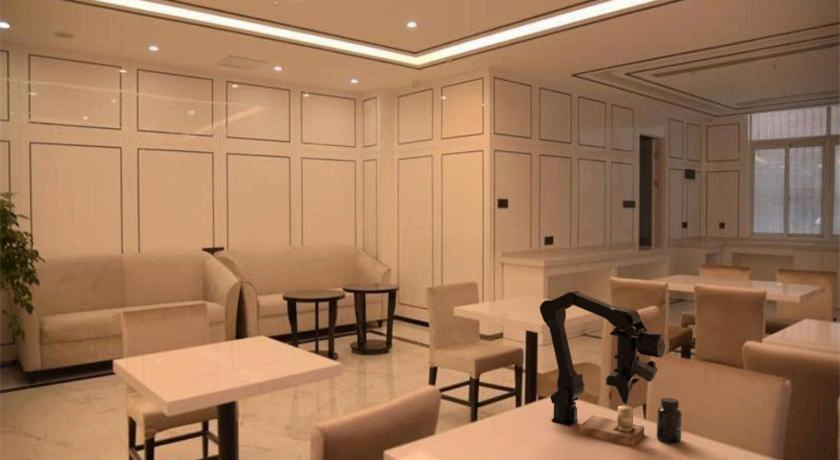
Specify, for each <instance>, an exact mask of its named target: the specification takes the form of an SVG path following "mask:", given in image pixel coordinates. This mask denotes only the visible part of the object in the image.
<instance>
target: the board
mask: <svg viewBox="0 0 840 460" xmlns="http://www.w3.org/2000/svg"><path fill="white" fill-rule="evenodd" d="M579 434H580V435H584V436H588V437H593V438H597V439H601V440H605V441H609V442H613V443H618V444H622V445H626V446H629V447H635V445H636V444H637V443H638V442H639V441H640V440H641V439H642V438H643V437H644V435H645V426H643V425H639V424H634V423H633V426H632V431H631V434H627V433H623V432H619V425H618V420H616V419H611V418H607V417H602V416H597V415H591V416H590V417H588V419H586V420H585V421H584V422H583V423H581V424H580V425H579Z"/></svg>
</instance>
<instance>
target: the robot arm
mask: <svg viewBox="0 0 840 460" xmlns="http://www.w3.org/2000/svg"><path fill="white" fill-rule="evenodd" d="M572 306H574V307H577V308H580V309H583V310H585V311H587V312H590V313H591V314H594V315H596V316H599V317H601V318H604V320H605V319H606V320H607V321H608V323H610V325H612V326H614V329H613V330H612V331H611V332H609V335H610V336H615V337H616V353H615V354H614V356H613V357H614V360H616V361H615V362H616V365H615V368H613V372H612V373H610V374H609V375H608V376H607V377H606V380H605V385H606V386H610V387H615V388H616V389H617V392H618V394H619V396H620V398H621V400H622V401H621V402H622V403H623V404H628V403H629V400H630V397H631V393H632V391H633V390H632V389H633V387H634V385H636V384H637V383H638V382H639V381H640V379H639V378H635V376H636V375H637V376H639V377H640V378H642V379H644V381H646V382H652V381H653V380H654V379H655V377H656V374H657V373H658V368H657V365H656V361H653V360H652V359H651V360H650V361H648V362H646V361H642V360H640V359H641V358H640V355H643V356H648V357H653V358H659V359H660V358H662V357H663V356H664V354H665V350H666V344H665V340H664V338H663V333H661V332H660V333H659V332H655V333H654V332H649V330H648V329H647V327H646V325H644V323H643V321H642V319H641V316H640V313H639V311H637V310H636V309H634V308H629V307H624V306H616V305H611V304H609V303H607V302H604V301H602V300H599V299H596V298H593V297H591V296H589V295H586V294H583V293H581V292H580V291H578V290H571V291H567V292H566V293H565V294H563V295H561V296H558V297H556V298H552V299H546V300H544V301H543V302H541V304H540V305H539V313H540V315H541V317H542V320H543V322H544V323H545V324H546V326H547V328H548V330H549V333H550V337H551V342H552V346H553V351H554V356H555V360H556V365H557V368H558V376H557V380H556V384H557V385H556V387H557V388H556V389H557V391H555V392H553V393H552V395H550V397H549V398H550V401H551V403H552V404H553V417H552V418H551V421H552V422H554V423H559V424H563V425H567V426H571V425H573V424H574V423H575V422H577V421H578V407H576V406H577V403H576V401H578V400H579V397H581V396H582V395H583V393H584V387H586V385H585V383H584V380H583V378H584V377H583V374H582V373H577V371H576V370H575V368H574V364H573V360H572V359H573V358H572V354H571V351H570V350H571V349H570V346H569V341H568V337H567V332H566V328H565V327H566V326H565V322H566V318H567V312H566V311H567V309H569V308H571V307H572ZM638 353H639V354H638Z"/></svg>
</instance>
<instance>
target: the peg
mask: <svg viewBox="0 0 840 460" xmlns="http://www.w3.org/2000/svg"><path fill="white" fill-rule="evenodd" d="M617 421H618V425H619V432H623V433H627V434H631V431H632V426H633V424H634V407H631V406H629V405H618V406H617Z"/></svg>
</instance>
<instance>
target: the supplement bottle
mask: <svg viewBox="0 0 840 460" xmlns="http://www.w3.org/2000/svg"><path fill="white" fill-rule="evenodd" d="M679 405H680V403H679V400H678V399H676V398H672V397H662V398H661V400H660V407H658V409H657V410H656V411H657V413H656V438H657V439H658V440H659V441H660V442H662V443H665V444H666V443H667V444H673V445H674V444H679V443H681V441H682V425H683V424H682V423H683V413H682V411H681V410H680V409H679V408H680V406H679Z"/></svg>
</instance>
